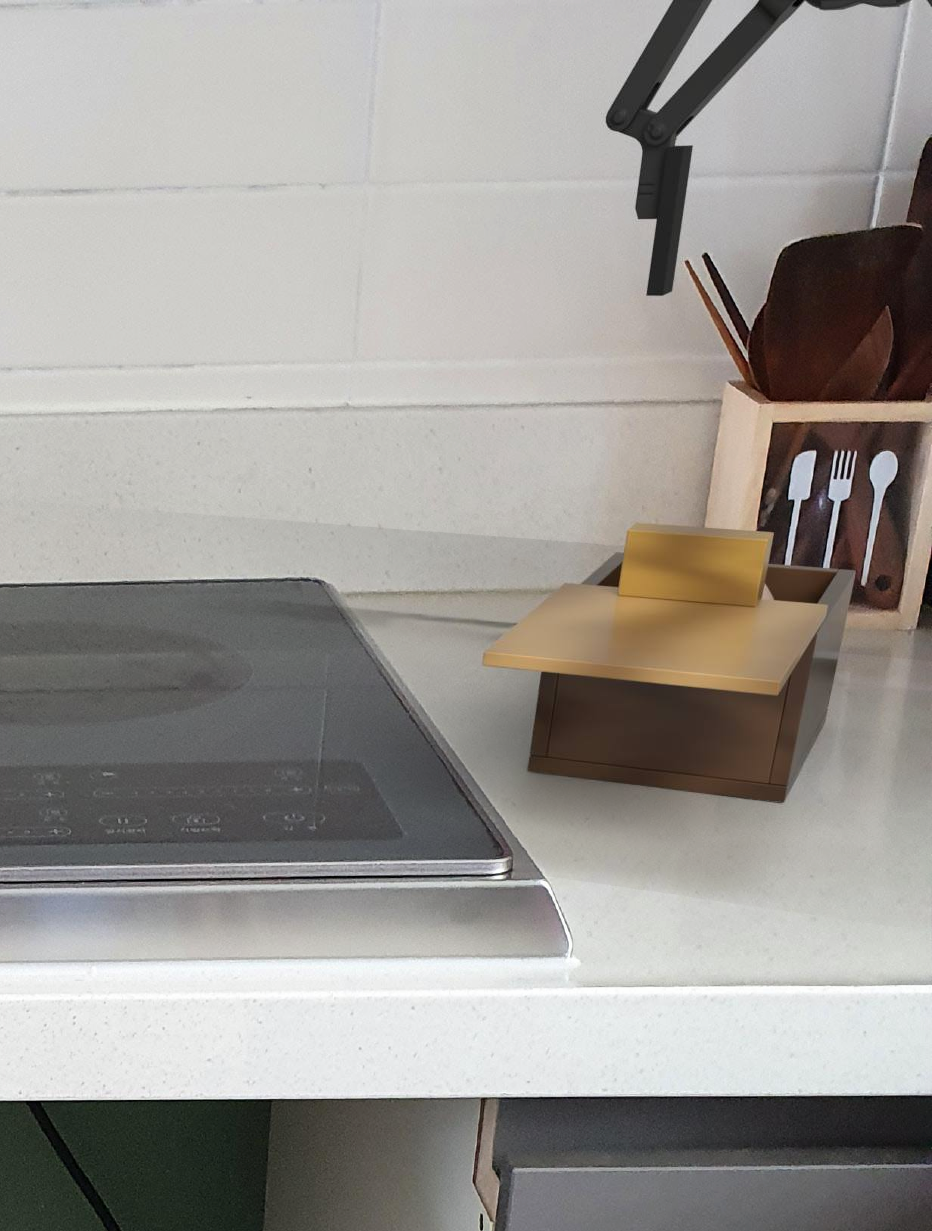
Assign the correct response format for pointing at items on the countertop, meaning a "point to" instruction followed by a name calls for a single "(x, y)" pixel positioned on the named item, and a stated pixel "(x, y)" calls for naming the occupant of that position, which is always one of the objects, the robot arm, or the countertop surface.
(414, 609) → the countertop surface
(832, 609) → the box
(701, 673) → the lid
